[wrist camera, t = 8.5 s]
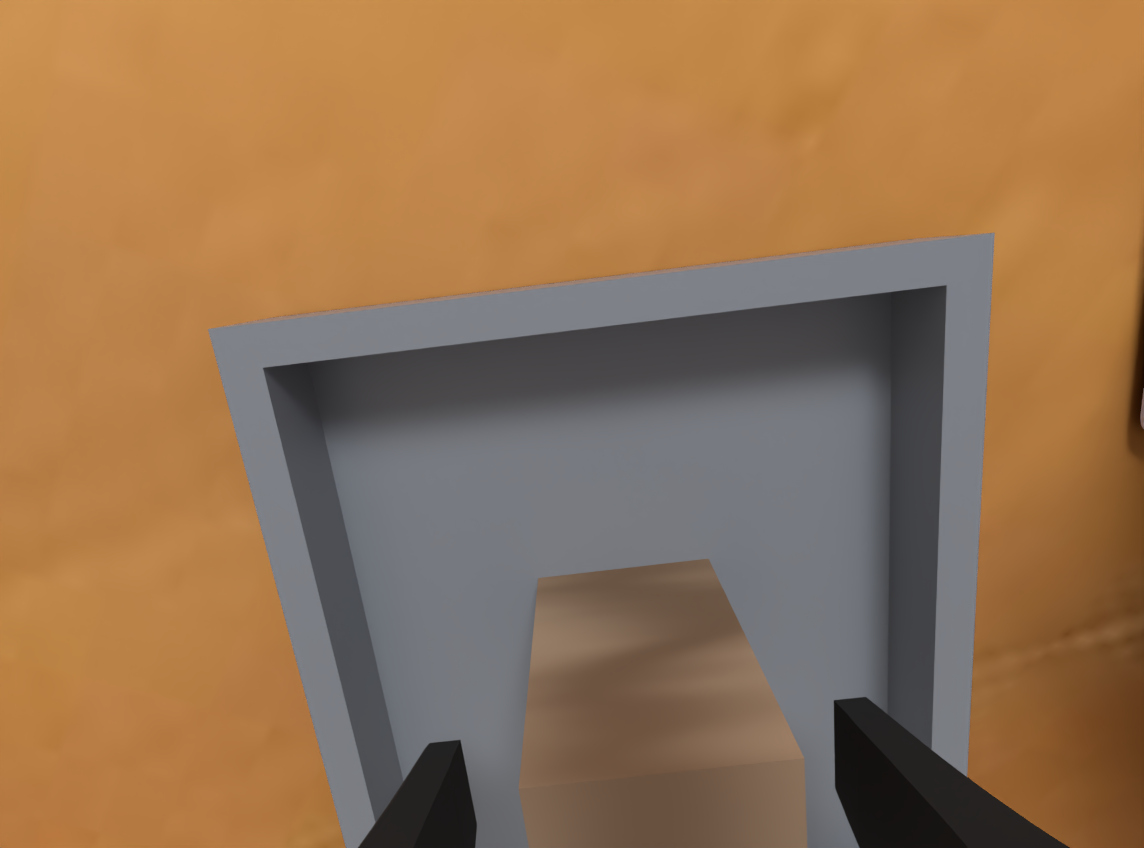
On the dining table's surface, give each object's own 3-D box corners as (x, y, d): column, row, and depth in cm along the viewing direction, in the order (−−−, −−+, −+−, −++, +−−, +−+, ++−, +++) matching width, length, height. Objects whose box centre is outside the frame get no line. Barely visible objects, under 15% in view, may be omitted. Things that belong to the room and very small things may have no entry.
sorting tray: (916, 238, 13) (994, 232, 11) (903, 889, 18) (956, 989, 15) (272, 317, 13) (208, 329, 11) (420, 937, 18) (397, 1041, 16)
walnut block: (708, 558, 14) (804, 758, 9) (718, 703, 15) (811, 970, 10) (538, 578, 14) (518, 789, 9) (559, 721, 15) (555, 996, 10)
